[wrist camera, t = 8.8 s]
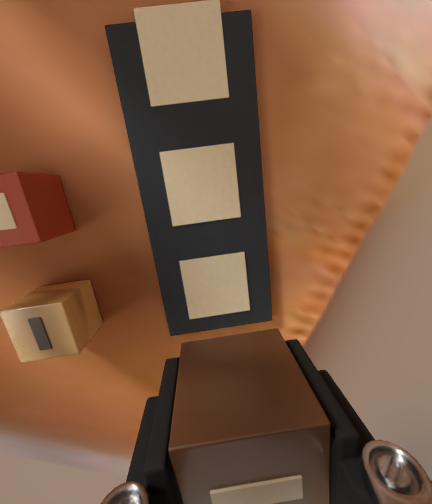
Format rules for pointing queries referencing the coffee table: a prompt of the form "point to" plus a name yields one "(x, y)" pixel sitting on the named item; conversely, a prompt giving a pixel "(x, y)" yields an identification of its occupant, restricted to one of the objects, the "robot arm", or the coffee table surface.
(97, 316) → the maple letter block
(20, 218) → the brick-red letter block
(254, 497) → the walnut letter block
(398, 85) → the coffee table surface
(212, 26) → the word board
